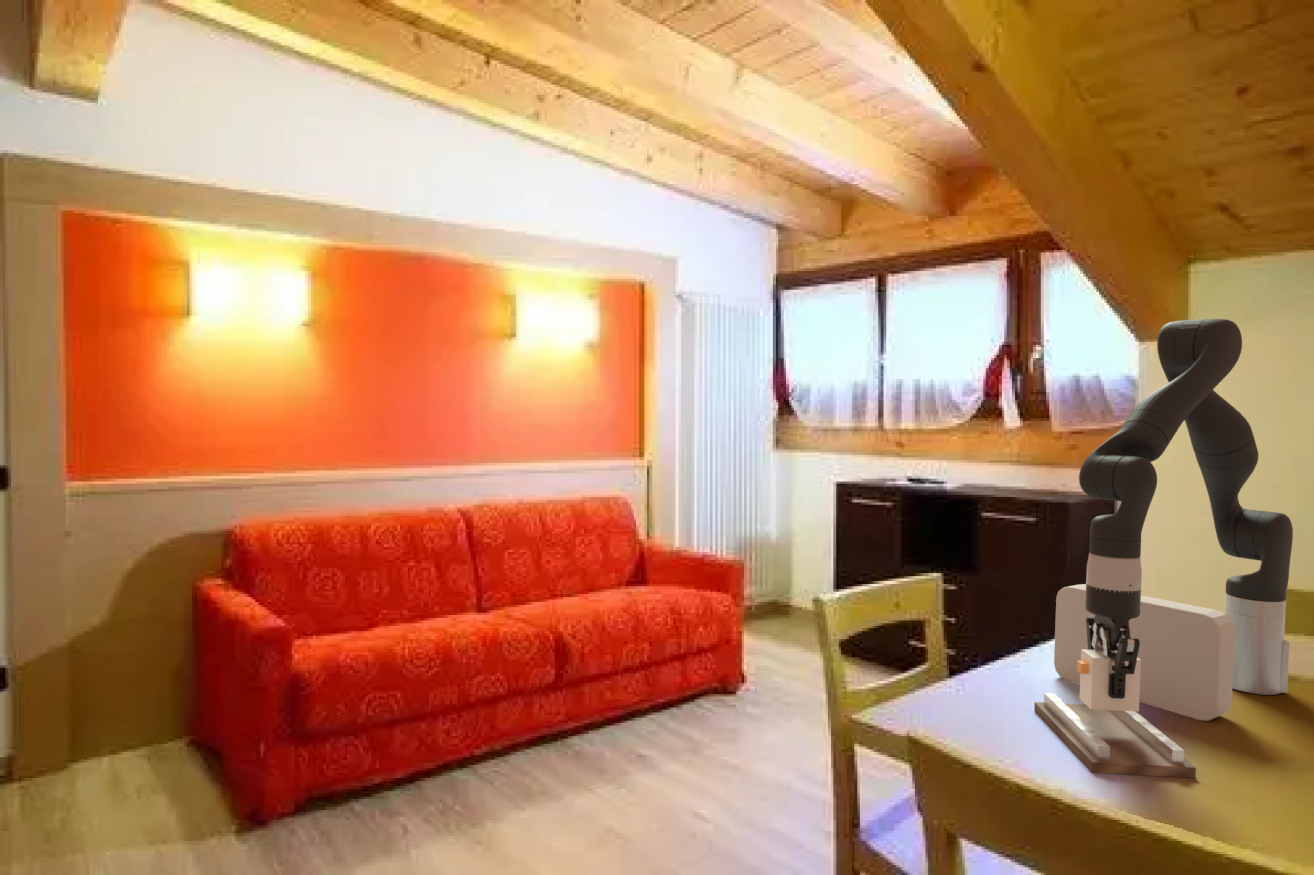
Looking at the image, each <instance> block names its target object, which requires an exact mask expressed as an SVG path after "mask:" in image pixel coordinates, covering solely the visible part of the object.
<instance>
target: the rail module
mask: <svg viewBox="0 0 1314 875" xmlns="http://www.w3.org/2000/svg"><path fill="white" fill-rule="evenodd" d="M1111 652H1112V653H1117V651H1111ZM1115 660H1116V658H1115V659H1114V662H1115ZM1128 664H1129V661H1128ZM1108 666H1109V659H1108V658H1106V657H1105V656H1104V651H1096V650H1085V649H1081V661H1077V671H1078V672H1079V673H1080V684H1079V700H1080V701H1081V702H1082V703H1083V704H1086V705H1087V706H1088V707H1089V708H1090V709H1097V710H1117V711H1135V712H1137V713H1138V712H1140V702H1139V695H1140V671H1141V660H1140V659H1139V658H1137V661H1136V666H1135V671H1134V674H1128V675H1126V683H1125V697H1124V698H1123V699H1117V698H1111V697H1110V696H1109V695H1108V684H1109V667H1108Z"/></svg>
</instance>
